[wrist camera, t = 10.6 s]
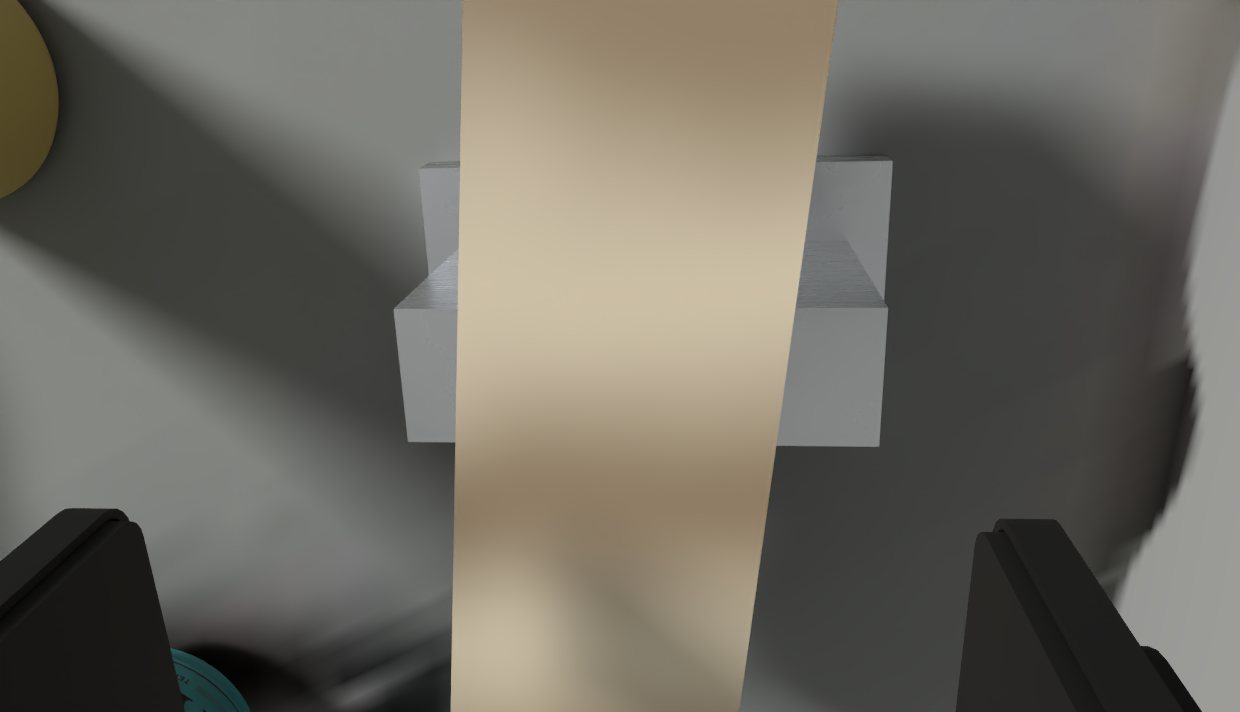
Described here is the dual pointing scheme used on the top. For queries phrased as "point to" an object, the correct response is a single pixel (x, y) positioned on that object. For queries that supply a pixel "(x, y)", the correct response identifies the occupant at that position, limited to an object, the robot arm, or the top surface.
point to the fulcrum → (822, 329)
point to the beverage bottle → (205, 686)
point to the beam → (624, 340)
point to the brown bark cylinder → (24, 98)
